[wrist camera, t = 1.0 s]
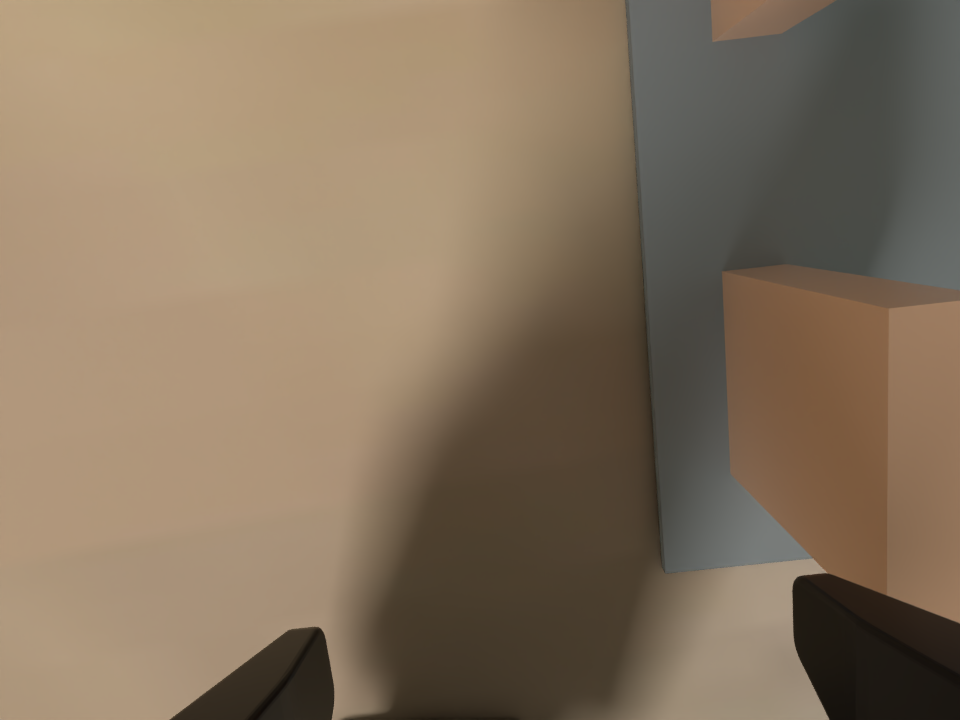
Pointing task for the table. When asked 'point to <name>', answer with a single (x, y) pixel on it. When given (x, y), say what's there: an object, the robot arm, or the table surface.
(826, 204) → the slate mat
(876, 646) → the robot arm
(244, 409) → the table surface
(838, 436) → the tile
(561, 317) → the table surface
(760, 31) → the tile
